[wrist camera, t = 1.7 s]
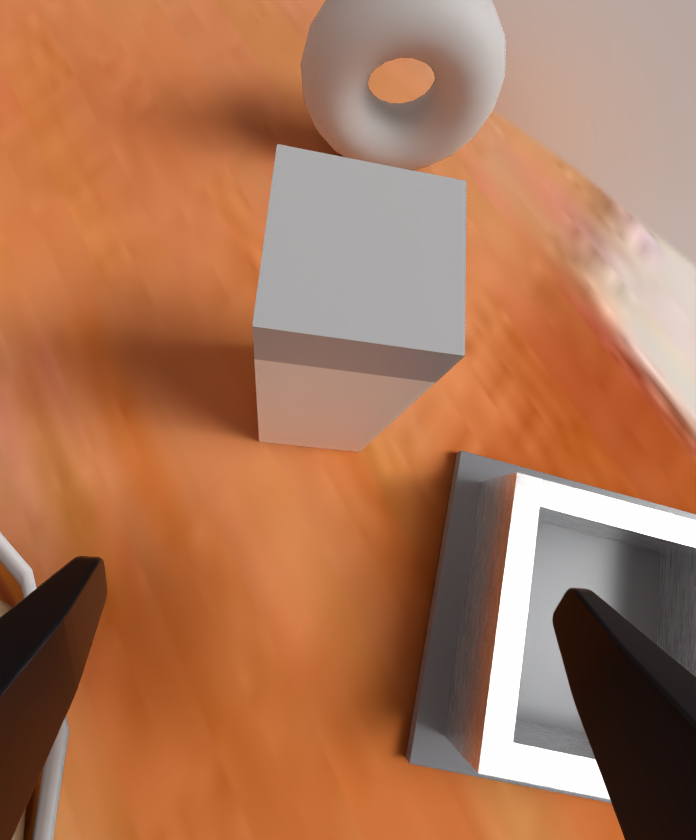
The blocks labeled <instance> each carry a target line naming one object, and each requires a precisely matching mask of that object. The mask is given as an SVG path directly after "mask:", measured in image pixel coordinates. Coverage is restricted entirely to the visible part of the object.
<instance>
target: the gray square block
mask: <svg viewBox="0 0 696 840" xmlns="http://www.w3.org/2000/svg"><path fill="white" fill-rule="evenodd" d="M465 275H466V181H463V180H458V179H453V178H448V177H443V176H438V175H433V174H428V173H423V172H418V171H412V170H407V169H402V168H397V167H392V166H387V165H382V164H377V163H372V162H367V161H362V160H356V159H351V158H346V157H341V156H336V155H331V154H326V153H321V152H316V151H311V150H306V149H300V148H295V147H290V146H285V145H280V144H277V149H276V156H275V163H274V171H273V178H272V185H271V193H270V200H269V208H268V215H267V222H266V230H265V237H264V244H263V252H262V259H261V266H260V274H259V281H258V289H257V296H256V303H255V311H254V318H253V325H252V328H253V345H254V362H255V380H256V397H257V414H258V431H259V442H266V443H276V444H285V445H295V446H305V447H314V448H324V449H333V450H343V451H353V452H360V451H362V450H363V449H364V448H365V447H366V446H367V445H368V444H369V443H370V442H371V441H372V440H374V439H375V438H376V437H377V436H378V435H379V434H380V433H381V432H382V431H383V430H384V429H386V428H387V427H388V426H389V425H390V424H391V423H392V422H393V421H394V420H395V419H396V418H398V417H399V416H400V415H401V414H402V413H403V412H404V411H405V410H406V409H407V408H408V407H410V406H411V405H412V404H413V403H414V402H415V401H416V400H417V399H418V398H419V397H420V396H422V395H423V394H424V393H425V392H426V391H427V390H428V389H429V388H430V387H431V386H432V385H434V384H435V383H436V382H437V381H438V380H439V379H440V378H441V377H442V376H443V375H444V374H446V373H447V372H448V371H449V370H450V369H451V368H452V367H453V366H454V365H455V364H456V363H458V362H459V361H460V360H461V359H462V358H463V357H464V356H465Z"/></svg>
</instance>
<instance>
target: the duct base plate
mask: <svg viewBox="0 0 696 840" xmlns="http://www.w3.org/2000/svg"><path fill="white" fill-rule="evenodd" d="M517 472H518V473H521V474H525V475H529V476H533V477H536V478H540V479H544V480H547V481H551V482H555V483H558V484H562V485H566V486H569V487H573V488H577V489H581V490H584V491H588V492H592V493H595V494H599V495H603V496H606V497H610V498H614V499H617V500H621V501H625V502H629V503H632V504H636V505H640V506H643V507H647V508H651V509H654V510H658V511H662V512H665V513H669V514H673V515H677V516H680V517H684V518H688V519H691V520H695V521H696V514H692V513H689V512H685V511H681V510H678V509H674V508H670V507H667V506H663V505H659V504H656V503H652V502H648V501H645V500H641V499H637V498H634V497H630V496H626V495H623V494H619V493H615V492H612V491H608V490H604V489H600V488H597V487H593V486H589V485H586V484H582V483H578V482H575V481H571V480H567V479H564V478H560V477H556V476H553V475H549V474H545V473H542V472H538V471H534V470H531V469H527V468H523V467H520V466H516V465H512V464H509V463H505V462H501V461H498V460H494V459H490V458H487V457H483V456H479V455H476V454H472V453H468V452H465V451H460V452H457V455H456V461H455V467H454V473H453V479H452V485H451V491H450V497H449V502H448V508H447V514H446V520H445V526H444V532H443V538H442V544H441V550H440V556H439V562H438V568H437V574H436V580H435V586H434V592H433V598H432V604H431V610H430V615H429V621H428V627H427V633H426V639H425V645H424V651H423V657H422V663H421V669H420V675H419V681H418V687H417V693H416V699H415V705H414V711H413V717H412V723H411V728H410V734H409V740H408V746H407V752H406V759H407V760H408V762H409V763H410V764H415V765H420V766H425V767H430V768H435V769H440V770H446V771H451V772H456V773H461V774H466V775H471V776H476V777H481V778H486V779H492V780H497V781H502V782H507V783H512V784H517V785H522V786H527V787H532V788H538V789H543V790H548V791H553V792H558V793H563V794H568V795H573V796H578V797H584V798H589V799H594V800H599V801H604V802H609V803H611V800H610V799H606V798H601V797H596V796H591V795H586V794H581V793H576V792H571V791H566V790H561V789H555V788H550V787H545V786H540V785H535V784H530V783H525V782H520V781H515V780H510V779H505V778H499V777H494V776H489V775H484V774H479V773H478V772H477V771H476V770H475V769H474V768H473V767H472V766H471V765H470V764H469V763H468V762H467V760H466V759H465V758H464V757H463V756H462V755H461V754H460V753H459V752H458V751H457V749H456V748H455V747H454V746H453V745H452V744H451V743H450V742H449V741H448V740H447V738H446V737H445V736H444V728H445V722H446V715H447V708H448V702H449V695H450V688H451V682H452V675H453V668H454V662H455V655H456V648H457V642H458V635H459V628H460V622H461V615H462V608H463V602H464V595H465V588H466V582H467V575H468V568H469V562H470V555H471V549H472V542H473V535H474V529H475V522H476V515H477V509H478V502H479V495H480V489H481V482H483V481H486V480H490V479H494V478H498V477H501V476H505V475H509V474H513V473H517ZM660 559H661V553H659V552H656V551H652V550H648V549H644V548H640V547H636V546H633V545H629V544H625V543H621V542H617V541H613V540H610V539H606V538H602V537H598V536H594V535H590V534H587V533H583V532H579V531H575V530H571V529H567V528H564V527H560V526H556V525H552V524H548V523H544V522H541V521H538V525H537V533H536V542H535V551H534V560H533V569H532V578H531V586H530V595H529V604H528V613H527V622H526V630H525V639H524V648H523V657H522V666H521V675H520V683H519V692H518V701H517V710H516V719H517V720H522V721H527V722H531V723H536V724H541V725H546V726H550V727H555V728H560V729H564V730H569V731H574V732H579V733H583V734H586V733H585V730H584V728H583V725H582V722H581V720H580V717H579V714H578V711H577V709H576V706H575V703H574V700H573V696H572V693H571V690H570V686H569V683H568V679H567V675H566V672H565V668H564V664H563V661H562V657H561V653H560V650H559V646H558V642H557V638H556V635H555V631H554V627H553V622H552V617H553V613H554V611H555V609H556V607H557V605H558V604H559V602H560V600H561V599H562V597H563V595H564V594H565V592H566V591H567V590H568V589H569V588H586V589H590V590H591V591H593V592H594V593H596V594H597V595H598V596H599V597H600V598H602V599H603V600H604V601H605V602H606V603H608V604H609V605H610V606H611V607H612V608H614V609H615V610H616V611H617V612H619V613H620V614H621V615H622V616H623V617H625V618H626V619H627V620H628V621H629V622H631V623H632V624H633V625H634V626H635V627H637V628H638V629H639V630H640V631H641V632H643V633H644V634H645V635H646V636H647V637H649V638H650V639H651V640H652V641H654V642H655V643H656V644H657V635H658V610H659V585H660Z"/></svg>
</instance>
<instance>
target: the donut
mask: <svg viewBox="0 0 696 840" xmlns="http://www.w3.org/2000/svg"><path fill="white" fill-rule="evenodd" d="M505 40H506V38H505V35H504V32H503V29H502V26H501V23H500V21H499V18H498V15H497V12H496V10H495V7H494V4H493V1H492V0H326V1H325V2H324V4H323V6H322V7H321V9H320V10H319V12H318V14H317V15H316V17H315V18H314V20H313V22H312V23H311V25H310V29H309V32H308V36H307V41H306V45H305V49H304V53H303V57H302V61H301V74H302V86H303V96H304V103H305V105H306V107H307V110H308V112H309V114H310V117H311V119H312V121H313V123H314V126H315V128H316V129H317V131H318V132H319V134H320V135H321V136H322V137H323V138H324V139H325V140H326V142H327V143H328V144H329V145H330V146H331V147H332V148H333V149H334V151H336V152H337V153H339V154H340V155H342V156H344V157H346V158H351V159H356V160H362V161H367V162H372V163H377V164H382V165H387V166H392V167H397V168H402V169H407V170H414V169H419V168H424V167H428V166H430V165H432V164H434V163H436V162H438V161H440V160H443V159H445V158H447V157H449V156H451V155H453V154H454V153H455V152H457V151H458V150H459V149H460V148H461V147H463V146H464V145H465V144H466V143H467V142H469V141H470V140H471V139H472V138H473V137H474V136H475V135H476V134H477V132H478V131H479V129H480V128H481V126H482V125H483V124H484V122H485V121H486V119H487V118H488V117H489V115H490V114H491V112H492V110H493V109H494V107H495V103H496V101H497V98H498V95H499V92H500V89H501V86H502V83H503V80H504V74H505ZM397 58H414V59H417V60H419V61H422V62H425V63H426V64H428V65H429V66H430V67H431V68H432V70H433V72H434V75H435V80H434V83H433V85H432V86H431V88H430V89H429V90H428V91H427V92H426V93H425V94H424V95H422V96H421V97H419V98H417V99H416V100H414V101H410V102H406V103H403V104H399V103H389V102H386V101H383V100H380V99H379V98H377V97H376V96H375V95H373V94H372V92H371V91H370V90H369V87H368V80H369V77H370V75H371V73H372V72H373V71H374V70H375V69H376V68H377V67H379V66H380V65H382V64H384V63H385V62H387V61H390V60H394V59H397Z"/></svg>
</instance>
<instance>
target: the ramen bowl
mask: <svg viewBox="0 0 696 840" xmlns="http://www.w3.org/2000/svg"><path fill="white" fill-rule="evenodd" d="M35 589H36V583H35V579H34V575H33V570H32V569H31V568H30V566H29V565H28V564H27V563H26V562H25V561H24V559H23V558H22V557H21V556H20V555H19V553H18V552H17V551H16V550H15V549H14V548H13V546H12V545H11V544H10V543H9V542H8V541H7V539H6V538H5V537H4V536H3V535H2V534H1V532H0V617H1V616H2V615H4V614H5V613H6V612H7V611H9V610H10V609H11V608H12V607H14V606H15V605H16V604H17V603H19V602H20V601H21V600H22V599H24V598H25V597H26V596H27V595H29V594H30V593H31V592H32V591H34V590H35ZM68 735H69V726H68V722H67V717H65V719H64V721H63V724H62V726H61V728H60V730H59V733H58V735H57V737H56V740H55V742H54V744H53V746H52V749H51V751H50V753H49V756H48V758H47V760H46V762H45V765H44V767H43V769H42V772H41V774H40V776H39V778H38V781H37V783H36V785H35V788H34V790H33V792H32V794H31V797H30V799H29V801H28V803H27V806H26V808H25V810H24V813H23V815H22V817H21V819H20V822H19V824H18V826H17V829H16V831H15V833H14V835H13V838H12V840H53V835H54V829H55V822H56V815H57V809H58V802H59V795H60V789H61V782H62V775H63V769H64V762H65V755H66V749H67V742H68Z"/></svg>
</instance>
